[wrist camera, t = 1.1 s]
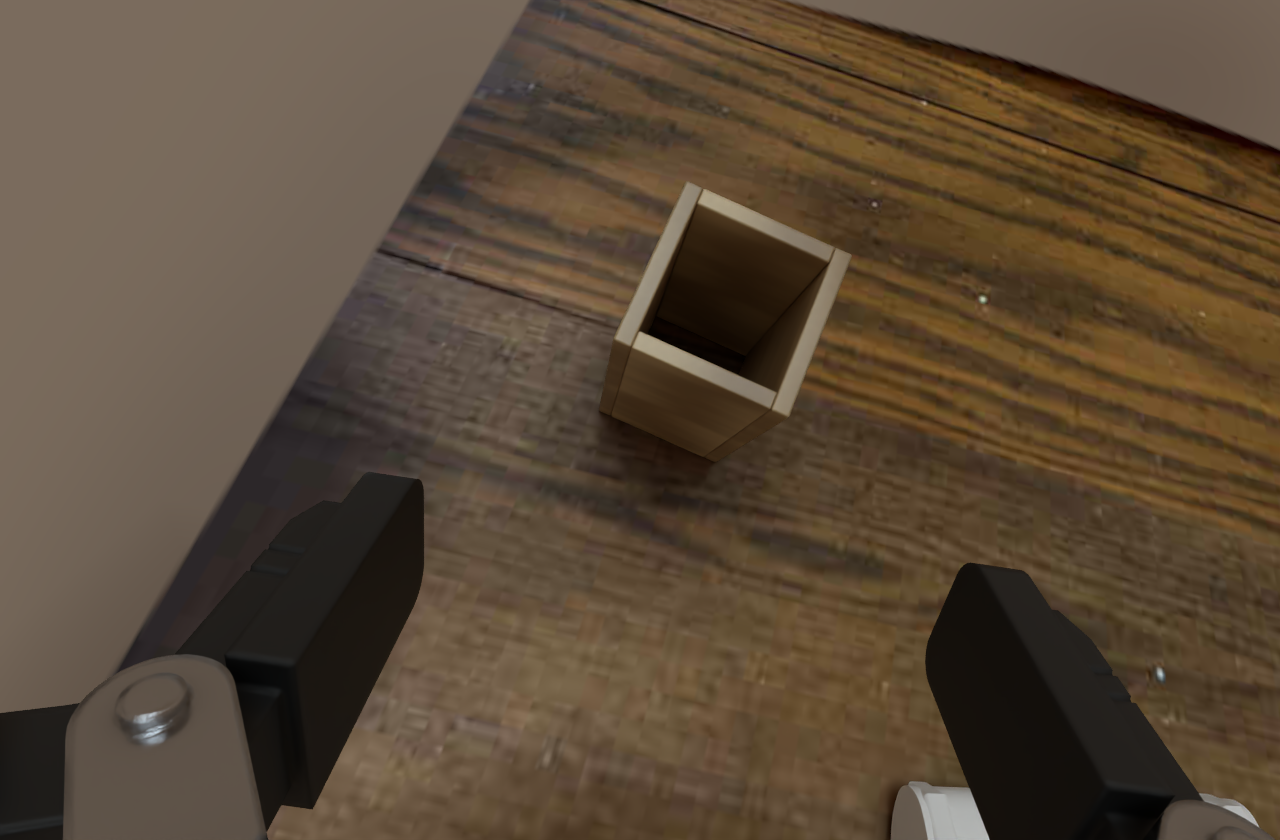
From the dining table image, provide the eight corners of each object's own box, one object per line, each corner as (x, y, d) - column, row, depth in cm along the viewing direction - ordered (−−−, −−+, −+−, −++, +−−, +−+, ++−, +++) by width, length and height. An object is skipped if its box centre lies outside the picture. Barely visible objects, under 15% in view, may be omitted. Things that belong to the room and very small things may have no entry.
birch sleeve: (598, 410, 26) (612, 339, 17) (648, 299, 27) (686, 179, 18) (716, 463, 26) (789, 417, 18) (762, 350, 27) (853, 254, 19)
